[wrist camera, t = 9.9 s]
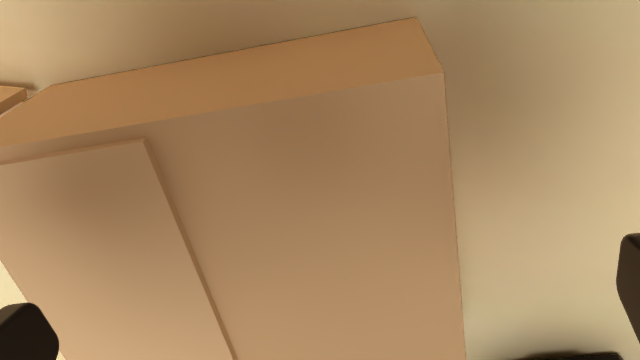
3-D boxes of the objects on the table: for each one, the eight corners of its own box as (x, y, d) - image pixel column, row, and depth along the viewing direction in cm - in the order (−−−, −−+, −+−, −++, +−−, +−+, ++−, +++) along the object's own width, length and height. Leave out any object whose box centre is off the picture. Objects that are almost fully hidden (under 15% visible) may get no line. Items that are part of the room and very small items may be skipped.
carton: (454, 394, 27) (479, 522, 21) (136, 417, 30) (87, 535, 24) (416, 17, 17) (445, 76, 12) (-53, 104, 20) (-207, 186, 14)
